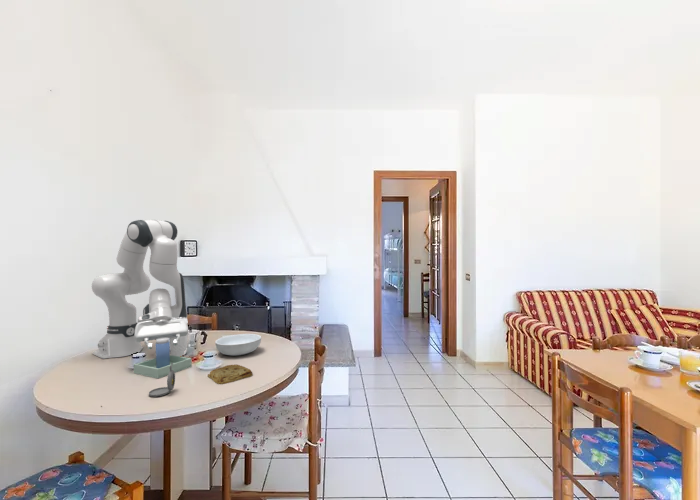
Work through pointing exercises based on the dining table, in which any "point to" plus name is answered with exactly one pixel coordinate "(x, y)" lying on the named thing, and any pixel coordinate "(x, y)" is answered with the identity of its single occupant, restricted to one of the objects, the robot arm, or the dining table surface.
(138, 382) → the dining table surface
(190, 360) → the tray
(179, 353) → the white cup
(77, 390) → the dining table surface
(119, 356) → the robot arm
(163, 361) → the shaker
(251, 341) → the serving bowl
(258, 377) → the dining table surface
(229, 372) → the pastry
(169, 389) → the pocket watch
